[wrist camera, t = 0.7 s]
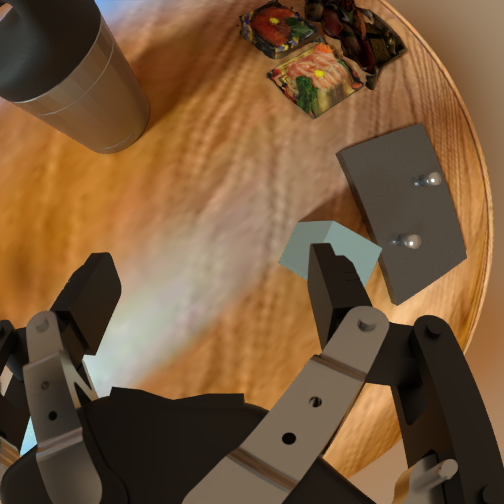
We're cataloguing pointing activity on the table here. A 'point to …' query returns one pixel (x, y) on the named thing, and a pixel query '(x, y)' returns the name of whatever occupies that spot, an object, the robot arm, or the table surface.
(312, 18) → the food
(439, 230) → the mounting plate
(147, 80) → the table surface
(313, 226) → the block
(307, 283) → the robot arm
